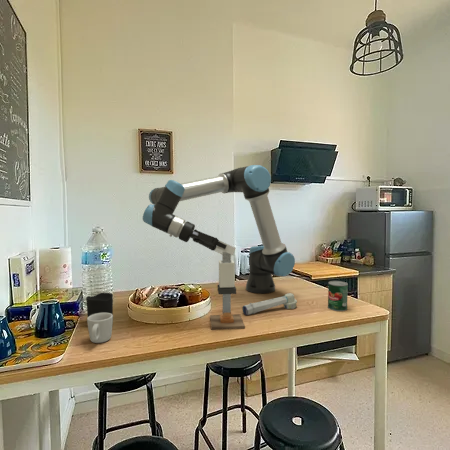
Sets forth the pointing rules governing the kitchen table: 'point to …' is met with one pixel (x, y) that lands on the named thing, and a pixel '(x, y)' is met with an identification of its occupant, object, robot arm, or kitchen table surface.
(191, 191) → the robot arm
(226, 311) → the post
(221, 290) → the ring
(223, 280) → the sleeve
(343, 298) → the canned tomato
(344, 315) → the kitchen table surface
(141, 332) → the kitchen table surface
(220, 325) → the base plate
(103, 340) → the cup
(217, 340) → the kitchen table surface
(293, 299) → the grey flashlight
